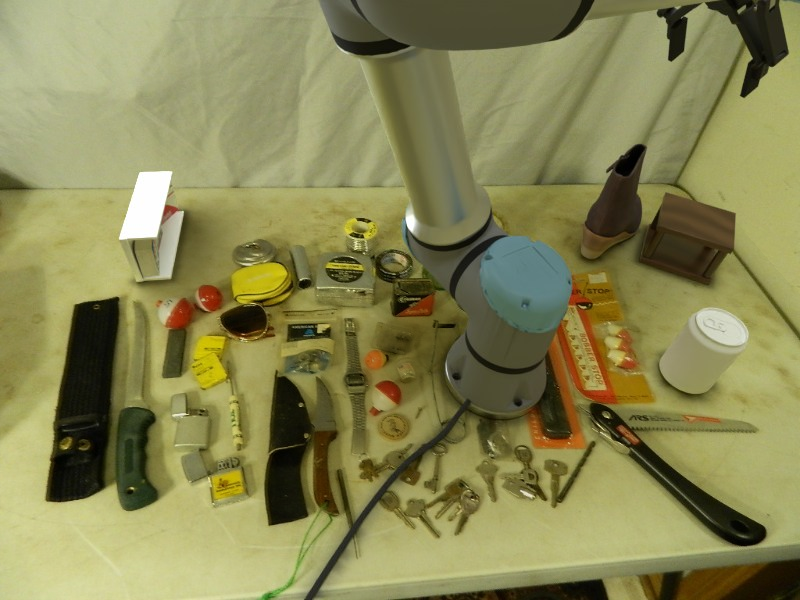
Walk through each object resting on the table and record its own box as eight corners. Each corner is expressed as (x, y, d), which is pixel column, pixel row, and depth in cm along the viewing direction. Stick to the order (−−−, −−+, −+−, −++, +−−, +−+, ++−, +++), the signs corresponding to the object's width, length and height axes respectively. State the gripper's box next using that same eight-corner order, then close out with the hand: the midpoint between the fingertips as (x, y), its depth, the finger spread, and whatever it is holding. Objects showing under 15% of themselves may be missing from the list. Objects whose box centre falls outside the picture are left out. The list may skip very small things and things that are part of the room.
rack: (708, 285, 99) (734, 249, 93) (638, 261, 103) (658, 225, 96) (712, 248, 107) (736, 212, 100) (647, 227, 110) (665, 192, 104)
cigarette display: (170, 280, 91) (156, 237, 84) (136, 281, 90) (118, 239, 83) (184, 208, 104) (173, 167, 97) (154, 210, 103) (141, 168, 96)
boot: (649, 215, 113) (693, 129, 99) (606, 274, 99) (650, 184, 85) (610, 199, 116) (647, 113, 102) (564, 253, 103) (599, 163, 88)
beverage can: (707, 404, 80) (750, 357, 72) (653, 382, 83) (689, 333, 74) (712, 367, 86) (753, 318, 77) (661, 347, 88) (696, 297, 79)
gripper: (856, -48, 60) (803, 91, 77) (675, -101, 73) (665, 28, 91) (804, -5, 60) (763, 124, 77) (633, -65, 73) (632, 56, 91)
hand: (710, 73), depth 84 cm, fingers open, 13 cm apart
